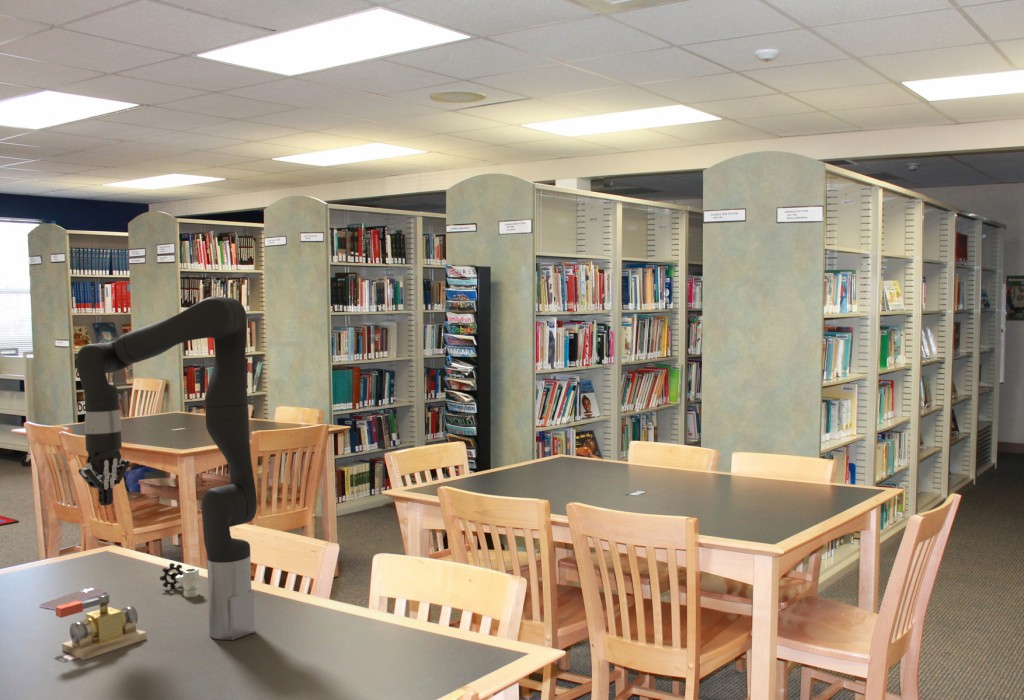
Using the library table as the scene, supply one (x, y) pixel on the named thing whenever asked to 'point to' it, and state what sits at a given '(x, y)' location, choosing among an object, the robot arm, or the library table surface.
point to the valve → (183, 579)
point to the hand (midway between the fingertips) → (106, 504)
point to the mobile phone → (73, 598)
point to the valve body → (103, 624)
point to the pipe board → (91, 649)
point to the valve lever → (81, 605)
